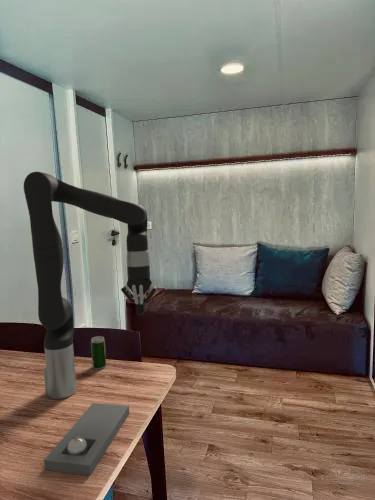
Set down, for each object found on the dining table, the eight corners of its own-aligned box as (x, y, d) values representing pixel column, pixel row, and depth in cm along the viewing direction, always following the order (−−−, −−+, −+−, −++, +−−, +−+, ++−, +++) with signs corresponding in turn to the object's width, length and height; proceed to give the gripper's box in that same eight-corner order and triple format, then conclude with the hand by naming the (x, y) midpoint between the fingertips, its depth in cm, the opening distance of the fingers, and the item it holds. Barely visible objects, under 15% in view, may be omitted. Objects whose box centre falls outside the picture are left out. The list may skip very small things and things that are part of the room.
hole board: (44, 469, 87) (44, 460, 87) (93, 410, 112) (92, 403, 112) (90, 475, 85) (89, 465, 84) (129, 413, 110) (128, 405, 110)
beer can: (95, 371, 140) (93, 341, 139) (90, 366, 145) (88, 337, 143) (108, 367, 143) (106, 338, 142) (103, 362, 148) (101, 335, 146)
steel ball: (68, 433, 91) (74, 439, 95) (61, 454, 88) (68, 460, 91) (86, 435, 90) (92, 441, 94) (80, 457, 87) (86, 463, 90)
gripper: (115, 265, 117) (118, 317, 119) (153, 265, 114) (156, 318, 116) (123, 262, 124) (126, 310, 126) (160, 262, 122) (162, 311, 124)
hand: (140, 314), depth 121 cm, fingers closed
